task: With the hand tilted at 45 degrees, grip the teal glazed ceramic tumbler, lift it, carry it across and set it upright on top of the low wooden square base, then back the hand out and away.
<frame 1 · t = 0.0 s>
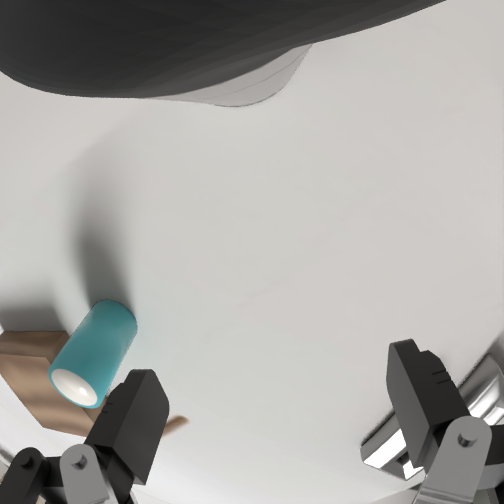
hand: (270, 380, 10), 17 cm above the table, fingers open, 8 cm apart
wooden square base: (58, 375, 37), on the table
emblem: (441, 418, 38), on the table
tumbler: (114, 321, 31), on the table
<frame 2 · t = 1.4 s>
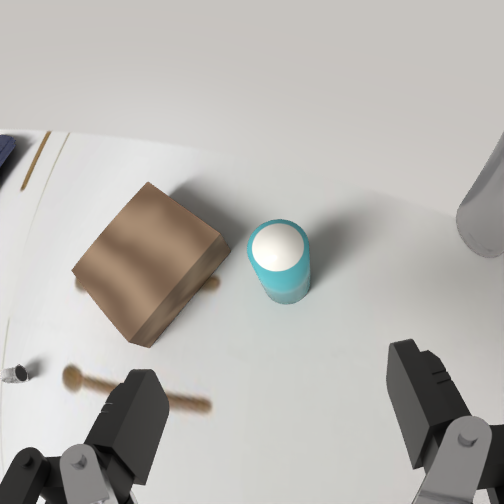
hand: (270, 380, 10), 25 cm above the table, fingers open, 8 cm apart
wooden square base: (154, 268, 41), on the table
wristwatch: (25, 377, 38), on the table
tumbler: (286, 281, 37), on the table
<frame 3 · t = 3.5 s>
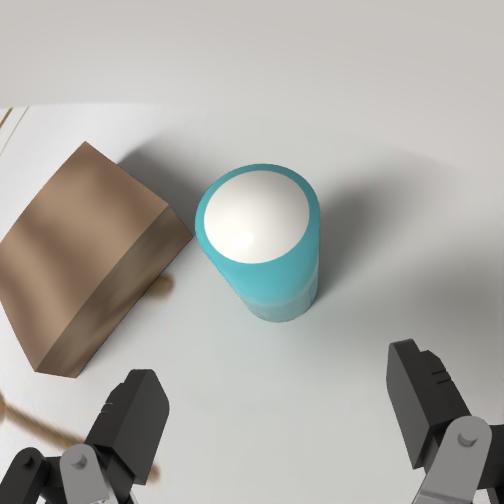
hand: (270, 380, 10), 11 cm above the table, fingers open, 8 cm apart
wooden square base: (87, 262, 27), on the table
tumbler: (278, 284, 23), on the table
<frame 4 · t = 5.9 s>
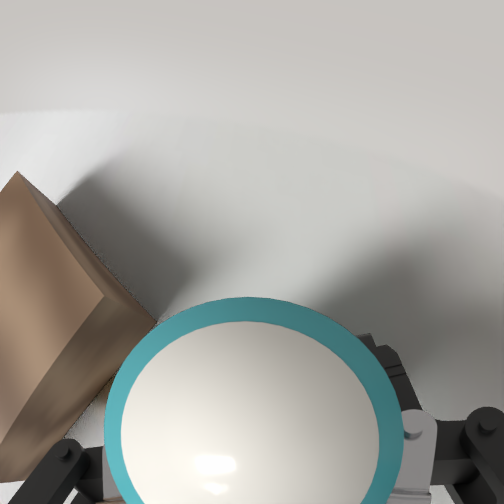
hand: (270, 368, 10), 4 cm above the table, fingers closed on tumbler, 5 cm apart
wooden square base: (29, 338, 17), on the table
tumbler: (285, 408, 14), on the table, touching gripper
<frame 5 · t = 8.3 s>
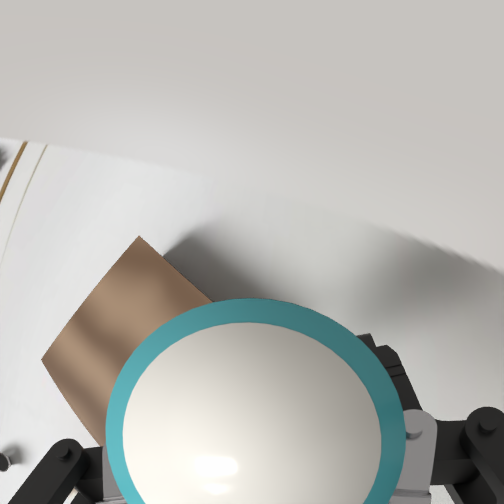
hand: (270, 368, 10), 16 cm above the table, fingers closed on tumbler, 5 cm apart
wooden square base: (154, 361, 28), on the table
wristwatch: (7, 460, 25), on the table
tumbler: (286, 408, 14), point 12 cm above the table, touching gripper
when the fingers open (11 cm above the table, at t = 10.9 s): tumbler drops 1 cm, resting on wooden square base.
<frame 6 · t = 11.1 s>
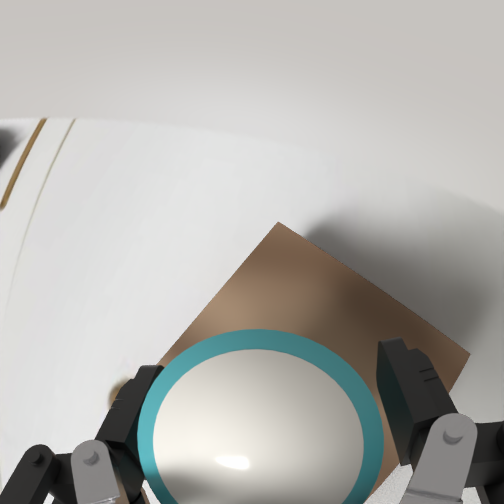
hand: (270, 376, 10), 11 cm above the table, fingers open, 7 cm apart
wooden square base: (292, 401, 19), on the table
tumbler: (287, 410, 15), point 5 cm above the table, touching wooden square base
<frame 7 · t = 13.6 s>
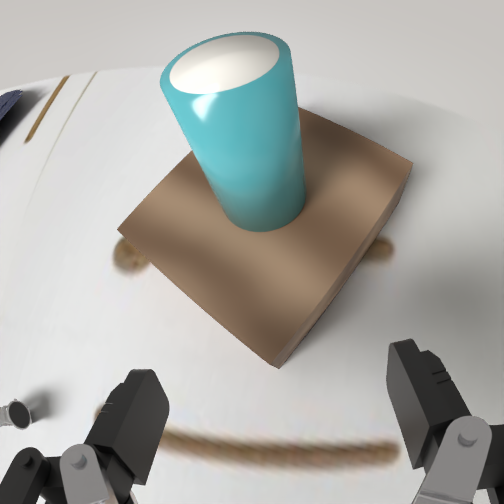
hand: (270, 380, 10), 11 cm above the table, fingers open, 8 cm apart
wooden square base: (272, 227, 25), on the table
wristwatch: (26, 417, 22), on the table
tumbler: (263, 193, 20), point 5 cm above the table, touching wooden square base
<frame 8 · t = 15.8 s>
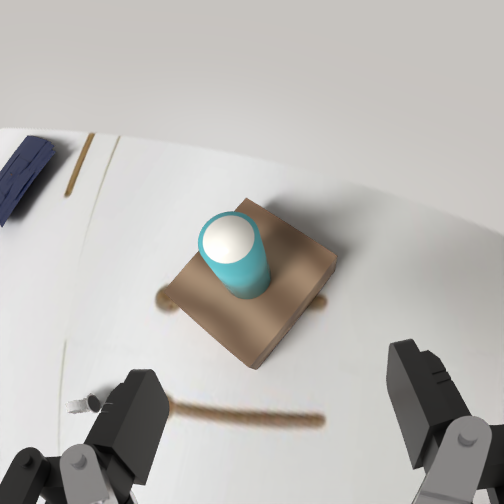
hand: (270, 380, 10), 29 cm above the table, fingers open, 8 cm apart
wooden square base: (254, 287, 42), on the table
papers: (19, 181, 64), on the table
wristwatch: (93, 406, 38), on the table
tumbler: (247, 276, 37), point 5 cm above the table, touching wooden square base
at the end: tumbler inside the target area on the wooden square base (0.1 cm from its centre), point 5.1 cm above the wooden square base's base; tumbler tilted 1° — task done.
